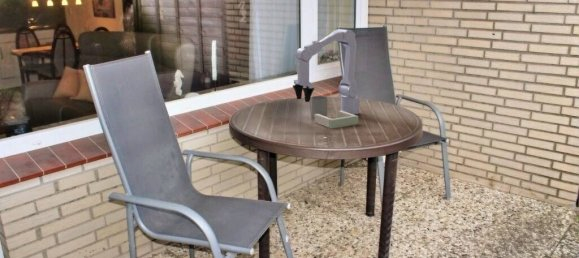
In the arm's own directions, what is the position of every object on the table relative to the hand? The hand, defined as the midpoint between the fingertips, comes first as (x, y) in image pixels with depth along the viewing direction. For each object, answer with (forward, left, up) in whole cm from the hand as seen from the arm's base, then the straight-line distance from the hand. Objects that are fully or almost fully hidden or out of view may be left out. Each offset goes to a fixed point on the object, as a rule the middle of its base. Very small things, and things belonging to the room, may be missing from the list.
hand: (303, 100), depth 239 cm
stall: (-11, +12, -10) cm, 19 cm away
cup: (-11, -2, -10) cm, 15 cm away
